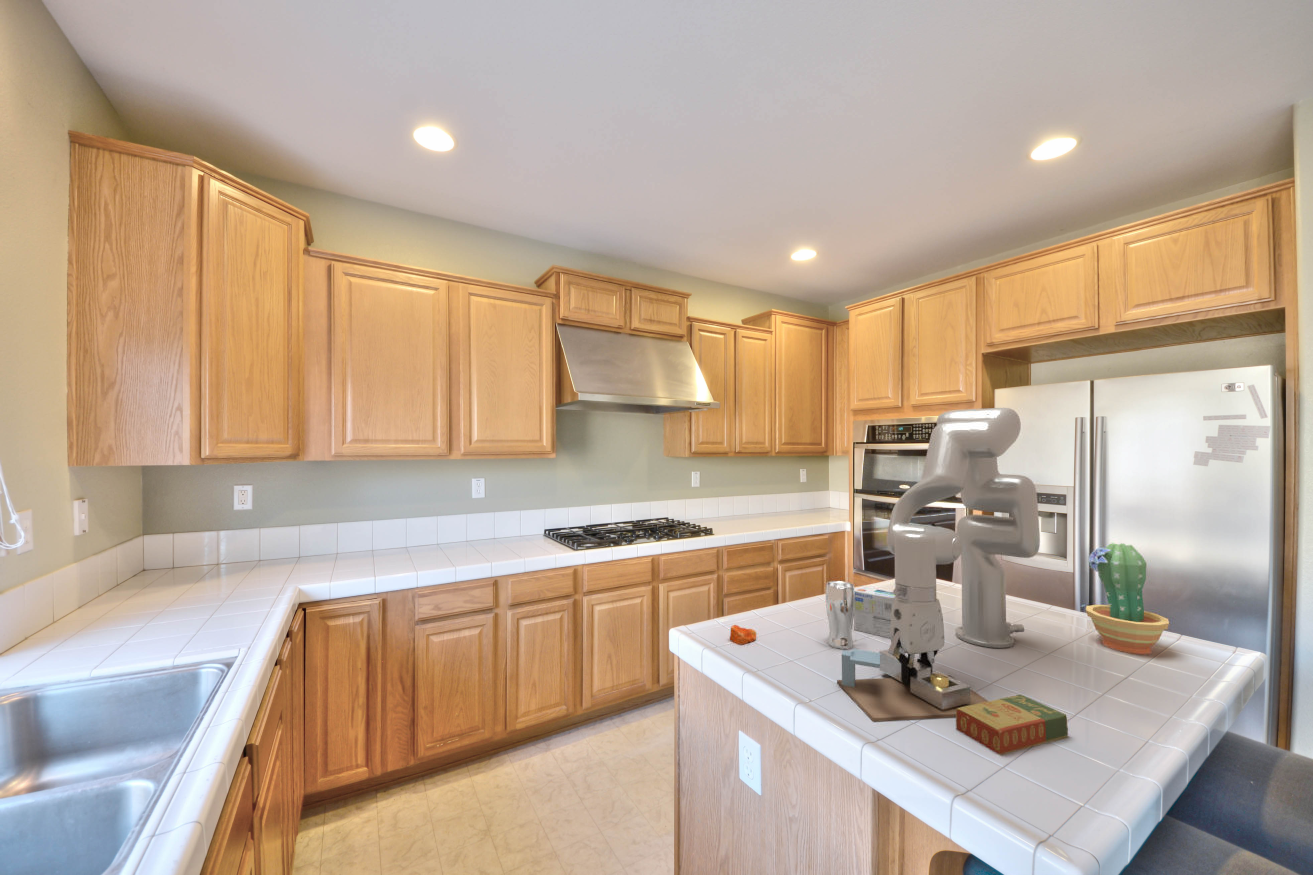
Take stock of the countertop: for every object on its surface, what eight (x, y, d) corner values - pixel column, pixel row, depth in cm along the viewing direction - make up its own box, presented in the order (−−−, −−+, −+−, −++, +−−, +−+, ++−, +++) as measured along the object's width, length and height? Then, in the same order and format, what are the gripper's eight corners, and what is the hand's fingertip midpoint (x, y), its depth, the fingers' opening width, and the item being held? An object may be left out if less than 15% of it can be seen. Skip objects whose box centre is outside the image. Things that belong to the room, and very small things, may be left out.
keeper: (880, 686, 106) (880, 652, 106) (880, 699, 100) (879, 664, 100) (843, 679, 109) (843, 647, 109) (841, 691, 103) (840, 657, 103)
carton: (955, 730, 90) (954, 706, 90) (1020, 714, 95) (1019, 691, 95) (1000, 757, 82) (1000, 730, 82) (1069, 738, 87) (1068, 713, 87)
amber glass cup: (942, 696, 100) (942, 672, 100) (952, 703, 97) (952, 679, 97) (927, 696, 100) (927, 673, 100) (937, 704, 97) (937, 680, 97)
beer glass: (851, 639, 131) (850, 581, 131) (859, 650, 124) (858, 588, 124) (823, 639, 132) (822, 580, 132) (829, 649, 125) (829, 587, 125)
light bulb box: (903, 632, 136) (902, 591, 136) (895, 640, 131) (894, 597, 131) (862, 623, 143) (861, 584, 143) (853, 630, 138) (852, 590, 138)
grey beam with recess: (970, 702, 97) (970, 681, 97) (942, 709, 94) (941, 687, 94) (898, 666, 113) (898, 647, 113) (872, 671, 110) (872, 652, 110)
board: (950, 678, 109) (950, 675, 109) (1003, 714, 94) (1003, 711, 94) (837, 683, 107) (836, 680, 107) (873, 721, 92) (873, 718, 92)
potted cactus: (1097, 631, 136) (1096, 536, 137) (1179, 650, 124) (1176, 546, 124) (1075, 643, 128) (1073, 543, 128) (1160, 665, 115) (1157, 553, 116)
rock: (777, 645, 130) (777, 628, 130) (742, 656, 123) (741, 638, 123) (743, 631, 139) (743, 615, 139) (709, 640, 132) (709, 624, 133)
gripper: (898, 602, 98) (900, 699, 97) (961, 592, 103) (963, 684, 103) (869, 591, 105) (870, 682, 104) (930, 583, 111) (931, 669, 110)
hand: (916, 682), depth 104 cm, fingers closed on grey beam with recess, 3 cm apart
